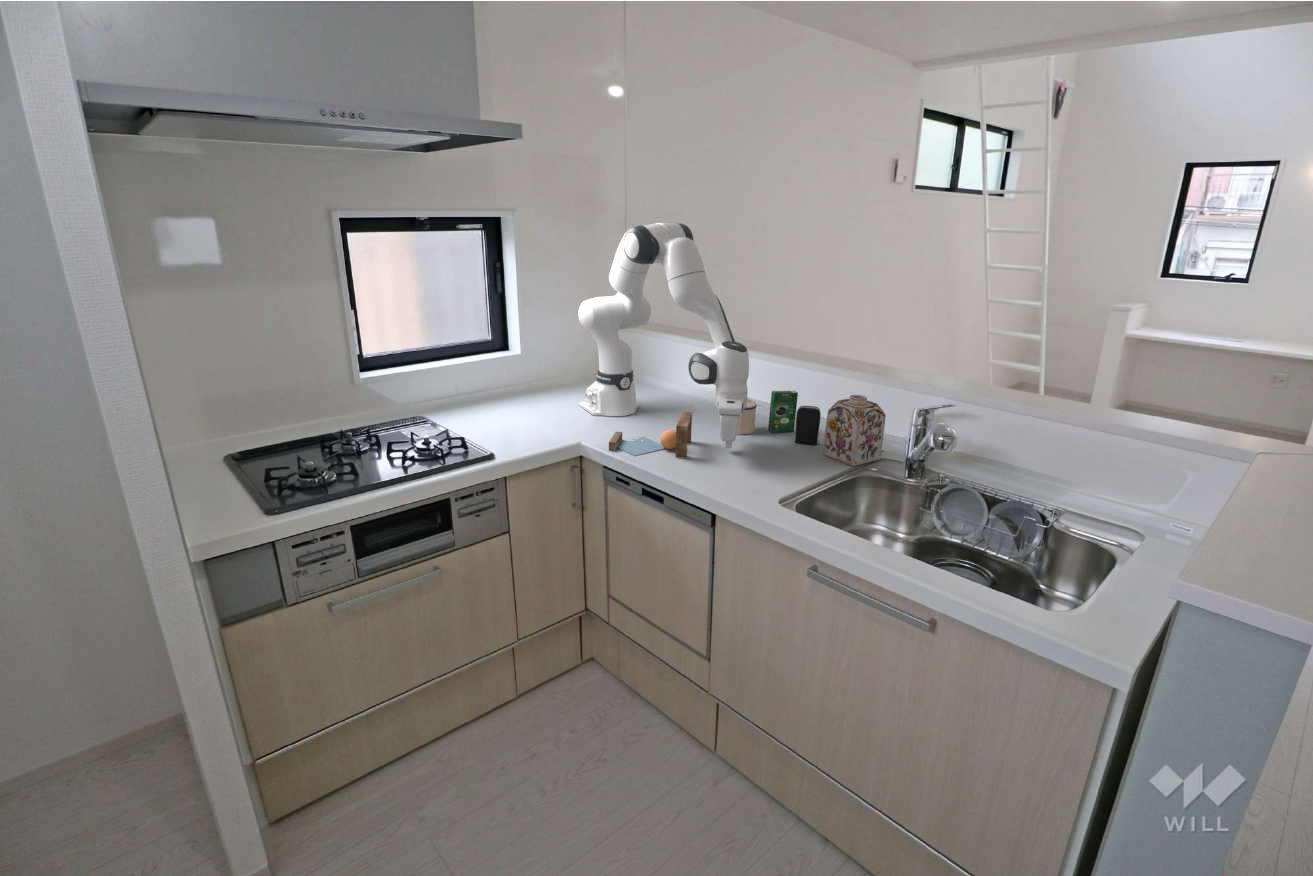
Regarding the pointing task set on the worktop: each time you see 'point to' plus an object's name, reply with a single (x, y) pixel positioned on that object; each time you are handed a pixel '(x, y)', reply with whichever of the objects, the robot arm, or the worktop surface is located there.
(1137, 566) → the worktop surface
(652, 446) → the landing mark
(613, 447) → the stopper
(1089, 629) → the worktop surface
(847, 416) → the decorative jar
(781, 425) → the coffee box
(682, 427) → the bridge
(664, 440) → the ball
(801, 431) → the battery charger
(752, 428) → the teacup with lid
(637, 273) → the robot arm
